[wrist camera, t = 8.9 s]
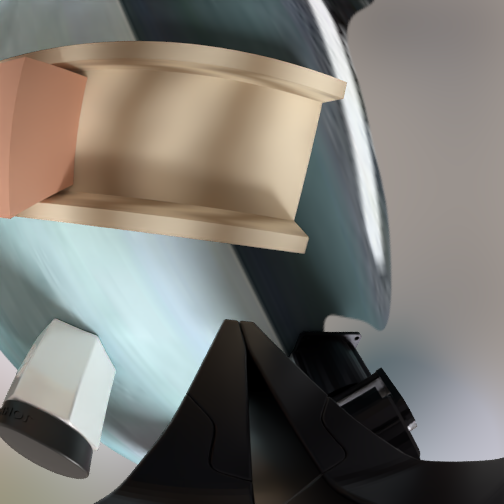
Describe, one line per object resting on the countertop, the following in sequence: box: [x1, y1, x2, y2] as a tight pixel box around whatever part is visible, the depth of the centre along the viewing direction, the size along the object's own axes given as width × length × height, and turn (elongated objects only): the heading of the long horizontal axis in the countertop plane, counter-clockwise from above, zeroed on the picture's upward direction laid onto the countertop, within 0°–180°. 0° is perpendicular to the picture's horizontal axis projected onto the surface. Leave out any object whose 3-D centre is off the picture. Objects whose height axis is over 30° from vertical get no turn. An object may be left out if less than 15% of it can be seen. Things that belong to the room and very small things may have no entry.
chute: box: [0, 41, 347, 254], centre depth 13 cm, size 23×10×4 cm, turn 78°
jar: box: [0, 319, 116, 479], centre depth 16 cm, size 9×8×12 cm
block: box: [0, 57, 87, 219], centre depth 9 cm, size 7×7×7 cm
